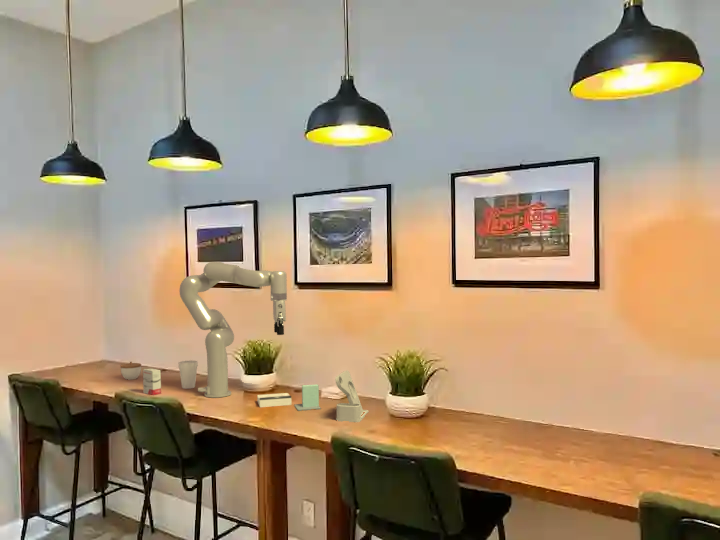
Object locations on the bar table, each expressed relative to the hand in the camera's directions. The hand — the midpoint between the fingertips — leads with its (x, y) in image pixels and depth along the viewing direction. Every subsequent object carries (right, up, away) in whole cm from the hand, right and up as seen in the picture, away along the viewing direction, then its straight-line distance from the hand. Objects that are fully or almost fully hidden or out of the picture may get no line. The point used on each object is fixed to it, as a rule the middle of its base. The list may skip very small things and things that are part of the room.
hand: (279, 333), depth 283 cm
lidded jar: (-89, -31, +50) cm, 106 cm away
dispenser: (-1, -30, -11) cm, 32 cm away
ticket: (+16, -30, -19) cm, 39 cm away
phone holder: (+35, -31, -35) cm, 58 cm away
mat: (+15, -30, -19) cm, 39 cm away
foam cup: (-50, -31, +25) cm, 64 cm away
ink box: (-64, -31, +12) cm, 72 cm away
